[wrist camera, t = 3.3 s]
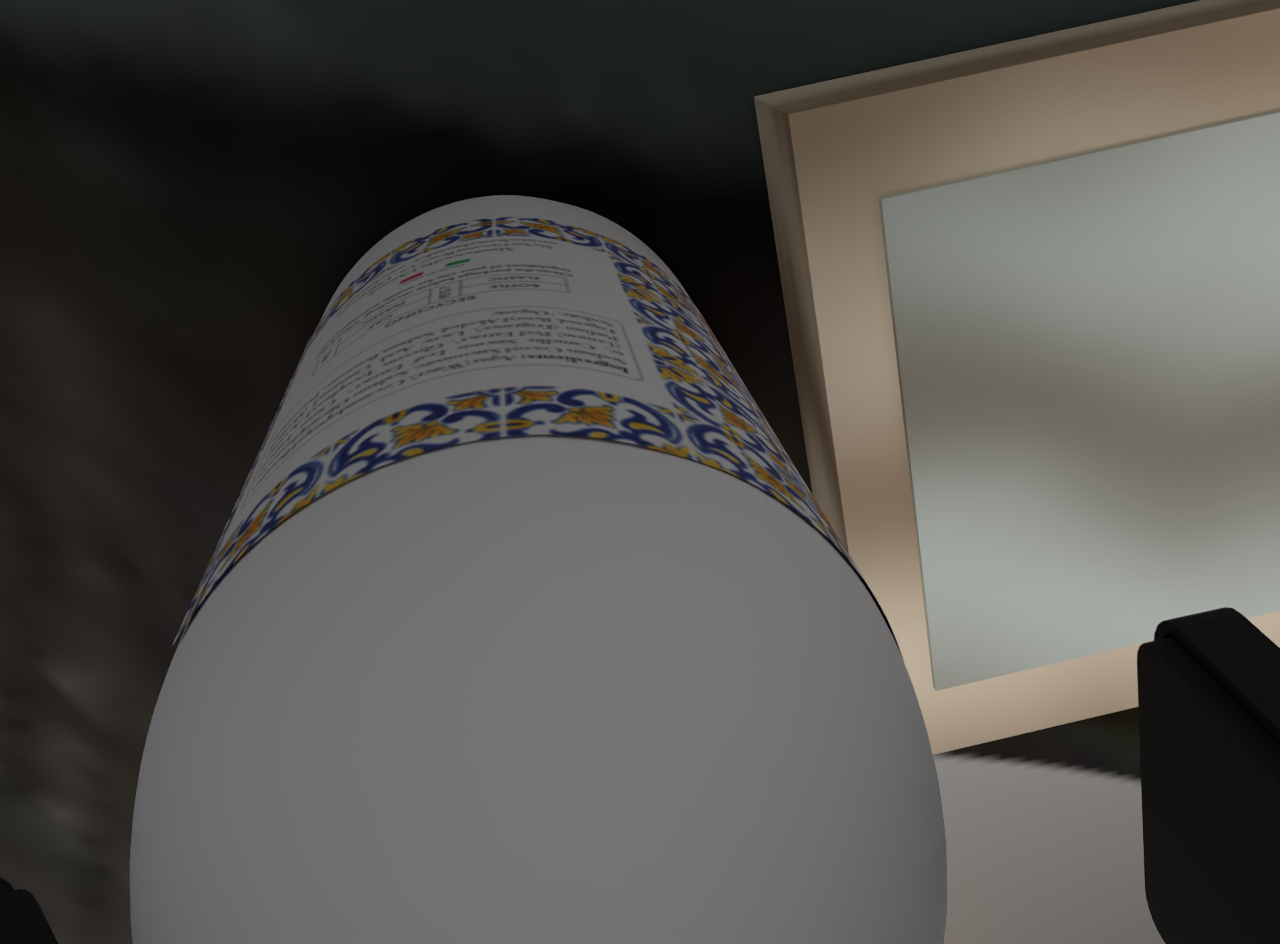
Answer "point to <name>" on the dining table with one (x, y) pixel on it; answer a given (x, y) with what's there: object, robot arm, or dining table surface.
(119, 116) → the dining table surface
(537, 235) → the bath foam
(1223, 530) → the plinth
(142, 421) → the dining table surface
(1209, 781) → the robot arm
